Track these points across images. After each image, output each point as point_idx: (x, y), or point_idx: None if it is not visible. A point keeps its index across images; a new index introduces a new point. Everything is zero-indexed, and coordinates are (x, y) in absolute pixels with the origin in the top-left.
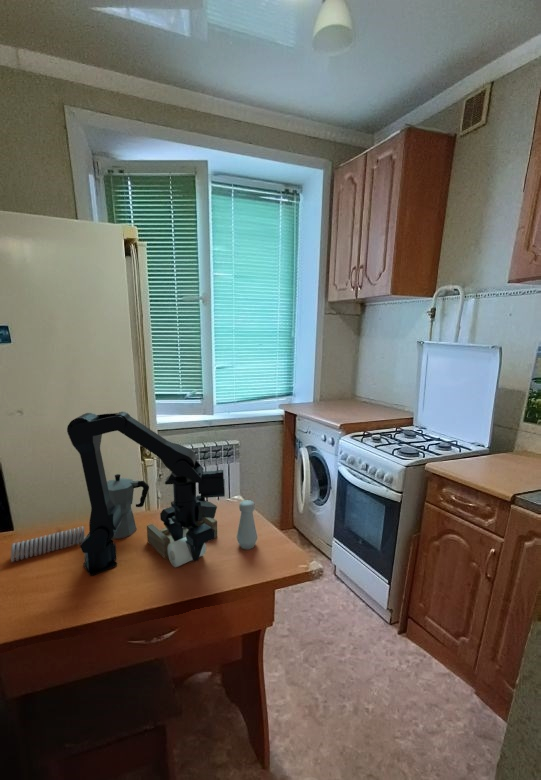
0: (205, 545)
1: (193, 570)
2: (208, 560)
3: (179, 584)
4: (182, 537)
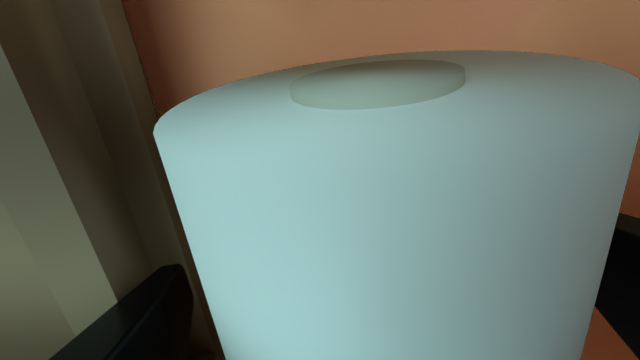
0: (614, 71)
1: None
2: (526, 33)
3: (590, 343)
4: (121, 349)
